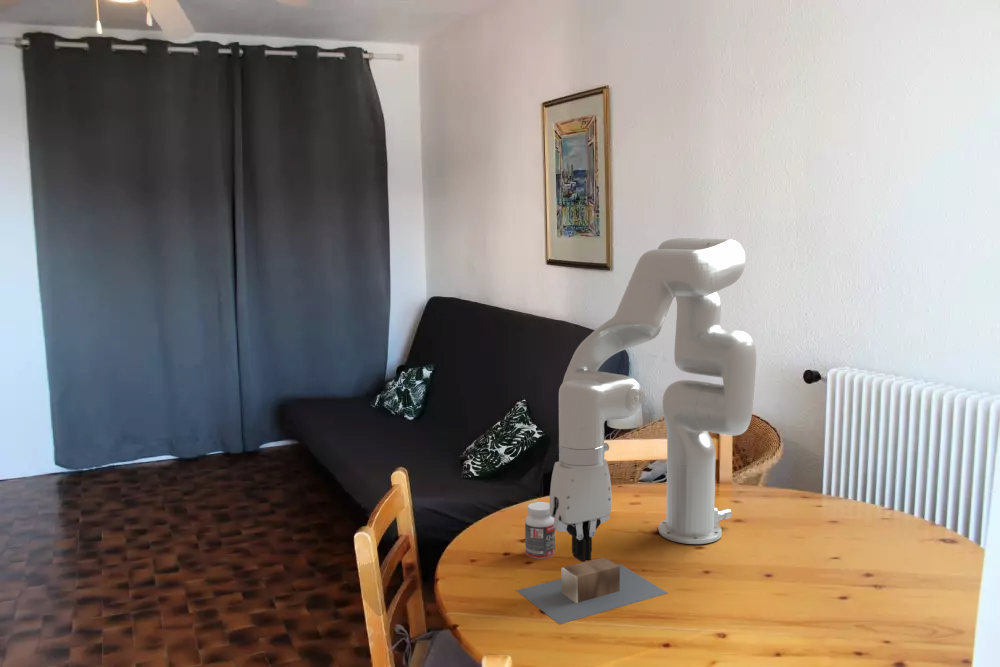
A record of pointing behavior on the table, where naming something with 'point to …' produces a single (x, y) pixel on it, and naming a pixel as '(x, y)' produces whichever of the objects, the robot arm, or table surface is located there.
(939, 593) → the table surface
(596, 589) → the block
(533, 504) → the pill bottle
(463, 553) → the table surface
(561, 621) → the mat
